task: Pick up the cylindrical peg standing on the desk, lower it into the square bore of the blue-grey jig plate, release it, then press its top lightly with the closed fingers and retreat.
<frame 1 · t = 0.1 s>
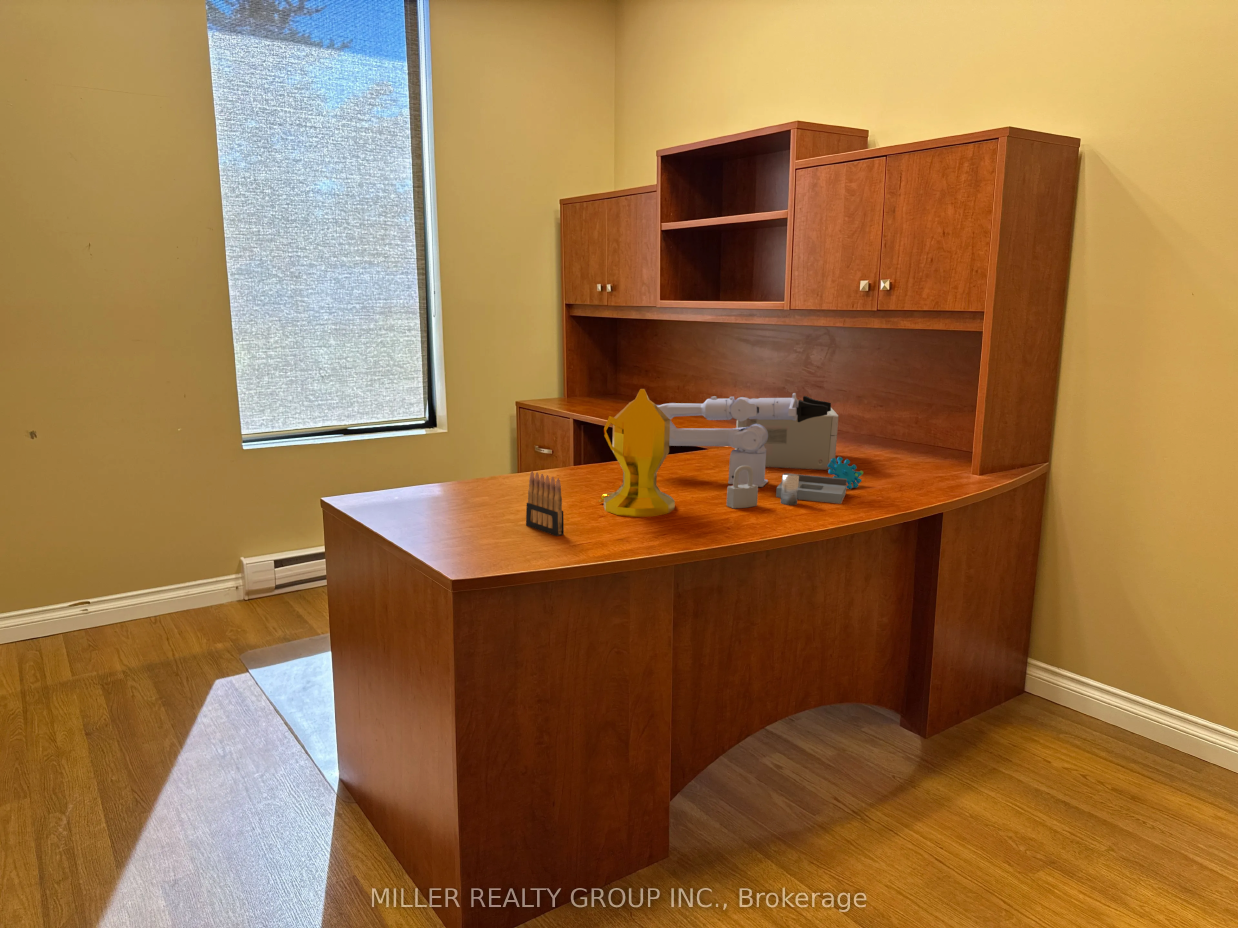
hand: (829, 408, 219), 22 cm above the table, tool horizontal, fingers open, 7 cm apart
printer: (781, 460, 265), on the table
ammunition clip: (544, 530, 180), on the table
jig: (811, 495, 218), on the table
padlock: (741, 507, 205), on the table
gear: (844, 487, 229), on the table
cylindrical peg: (788, 503, 209), on the table
trophy cup: (635, 507, 201), on the table
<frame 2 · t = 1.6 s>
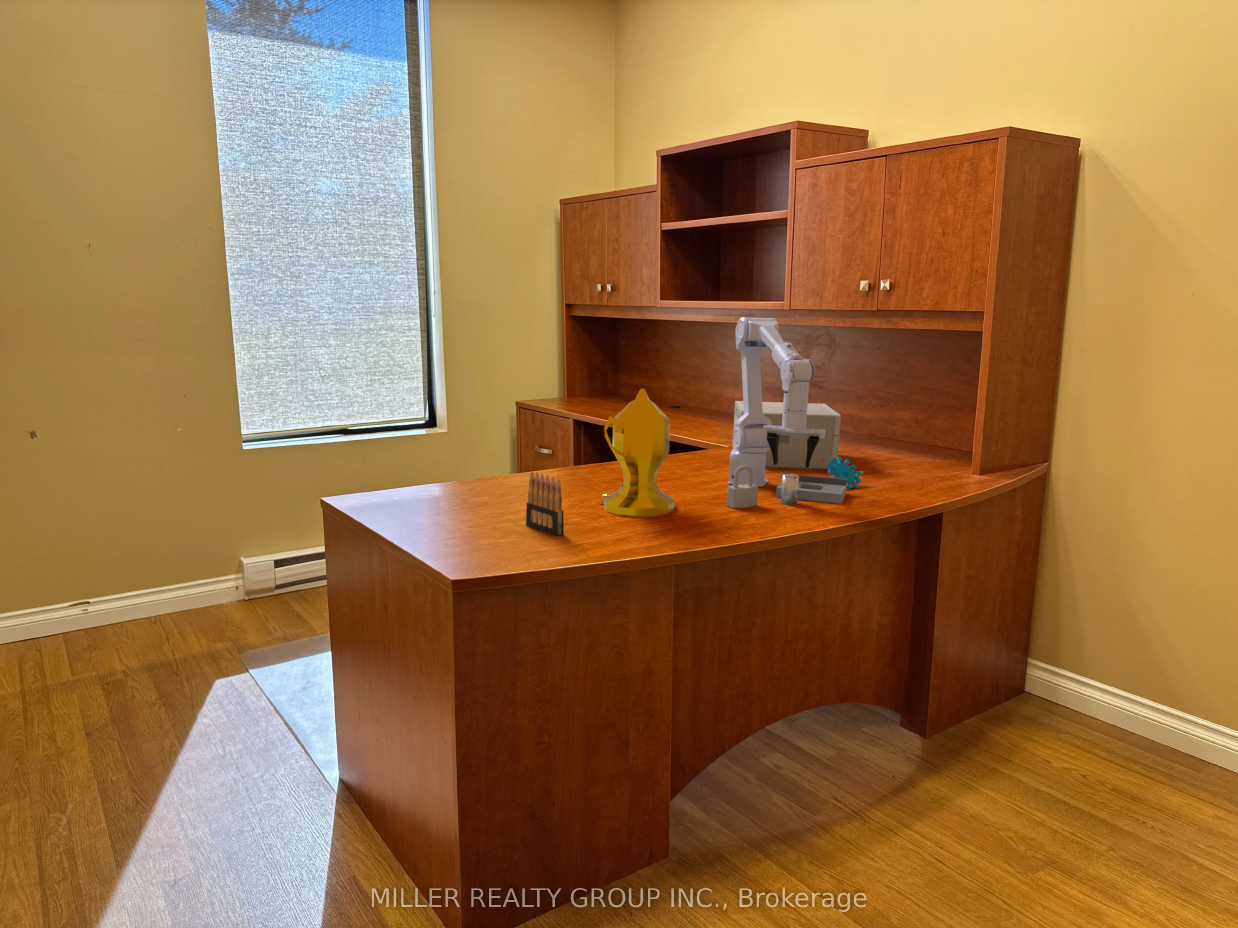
hand: (791, 465, 207), 9 cm above the table, tool pointing down, fingers open, 7 cm apart
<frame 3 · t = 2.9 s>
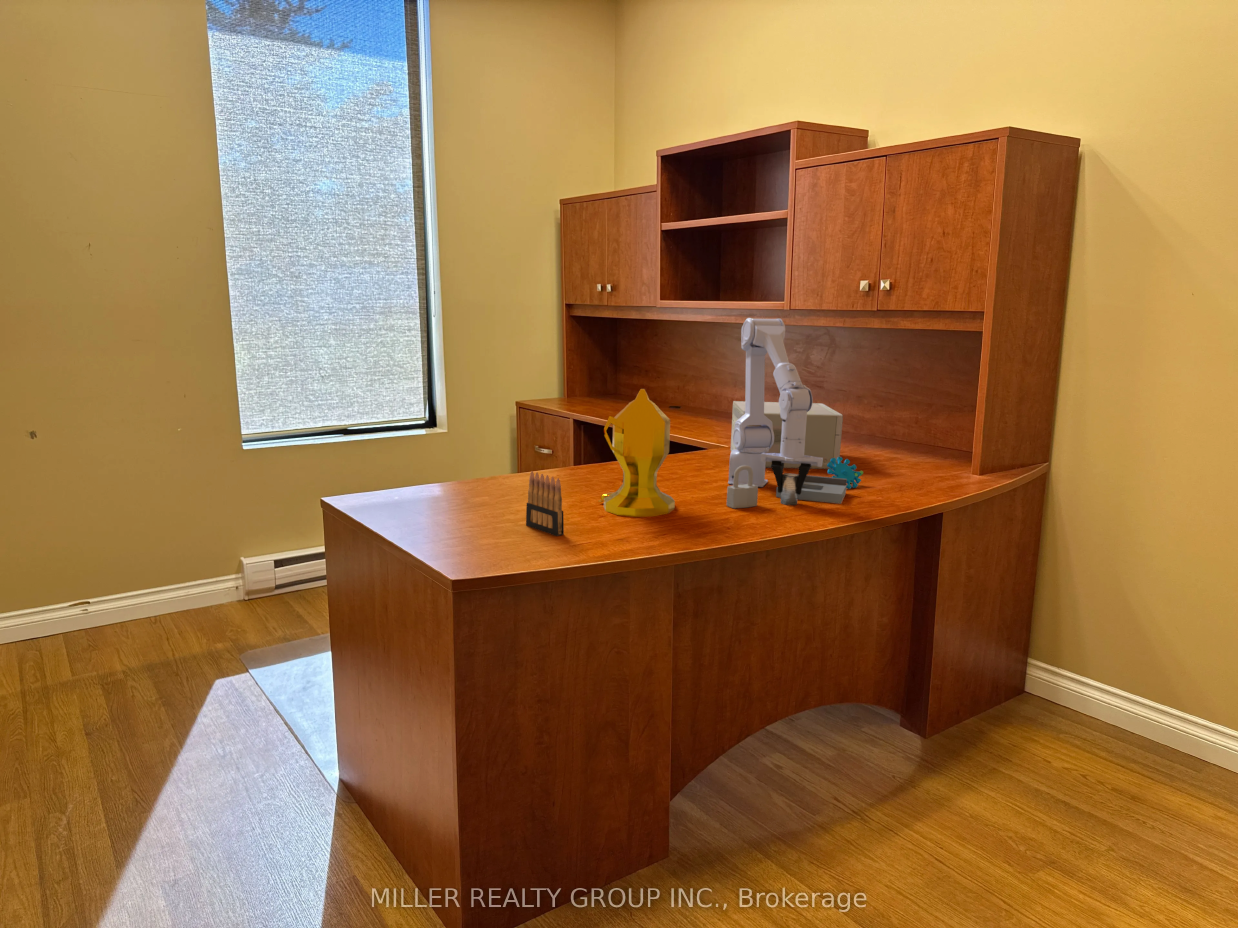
hand: (789, 492, 208), 3 cm above the table, tool pointing down, fingers closed on cylindrical peg, 4 cm apart
cylindrical peg: (788, 503, 209), on the table, touching gripper
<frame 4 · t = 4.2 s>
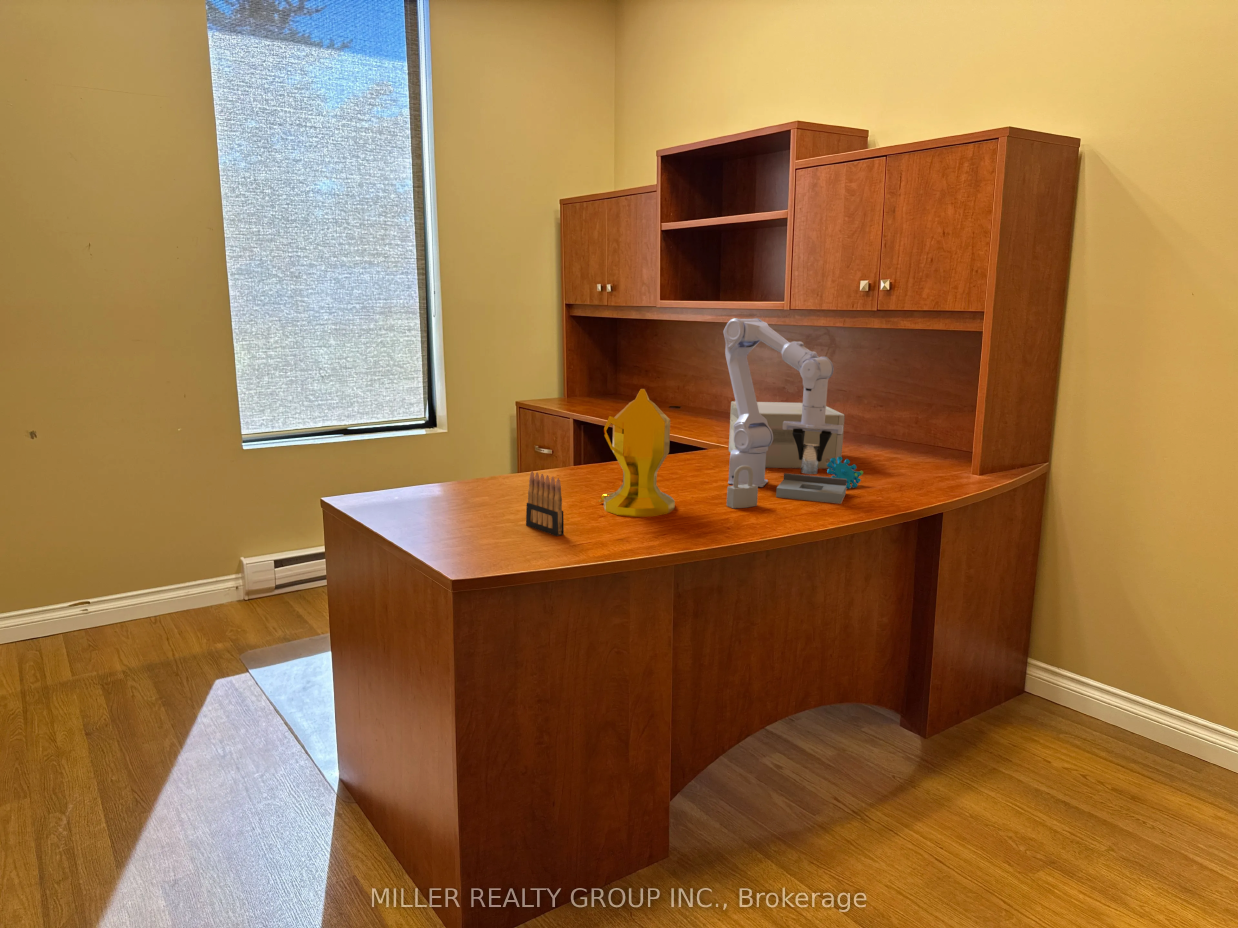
hand: (810, 460, 214), 10 cm above the table, tool pointing down, fingers closed on cylindrical peg, 4 cm apart
cylindrical peg: (809, 472, 214), point 6 cm above the table, touching gripper
when the fingers open (4 cm above the table, at t = 5.6 s): cylindrical peg stays where it is, resting in jig.
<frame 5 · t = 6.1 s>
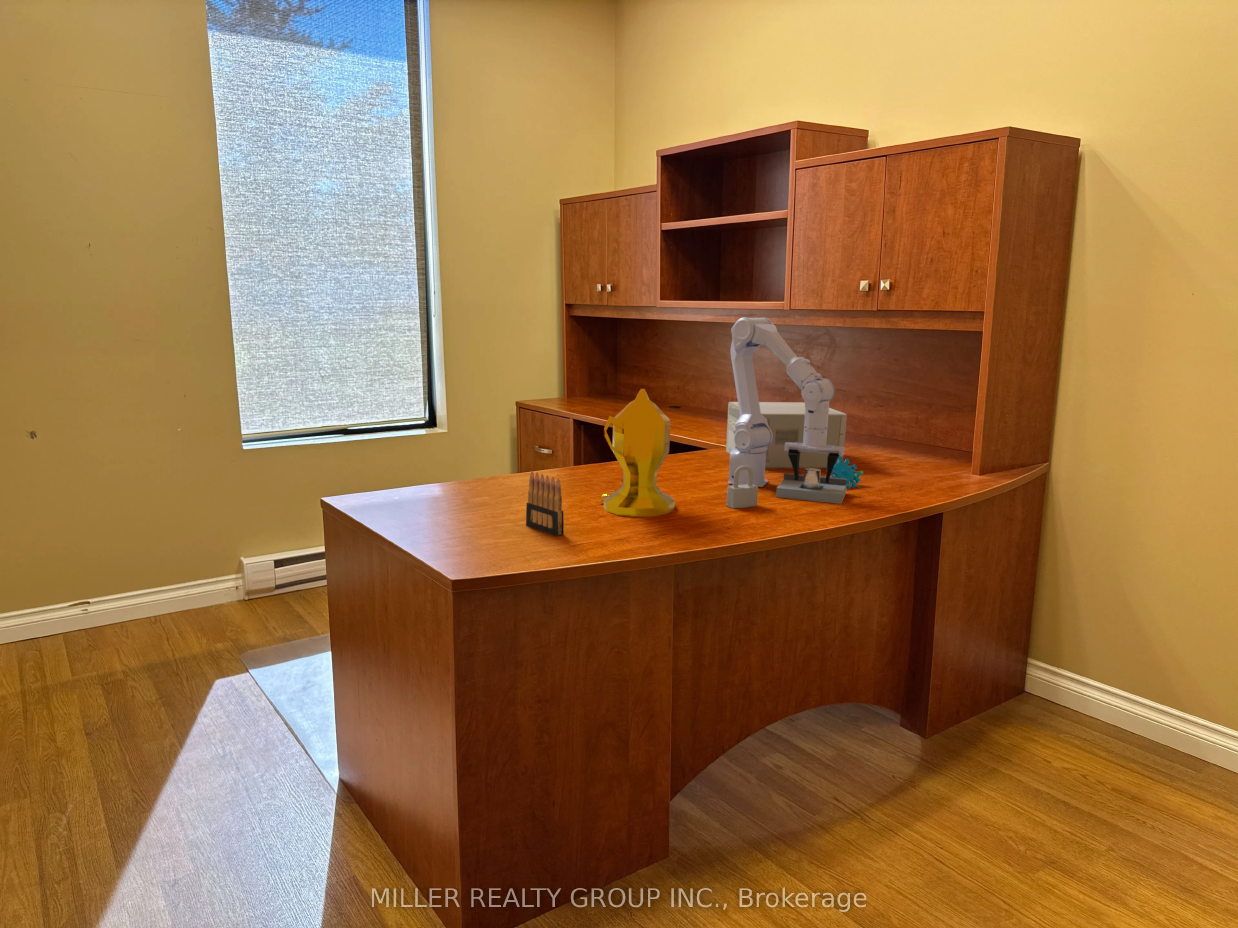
hand: (811, 480, 216), 4 cm above the table, tool pointing down, fingers open, 7 cm apart
cylindrical peg: (810, 496, 216), resting in jig
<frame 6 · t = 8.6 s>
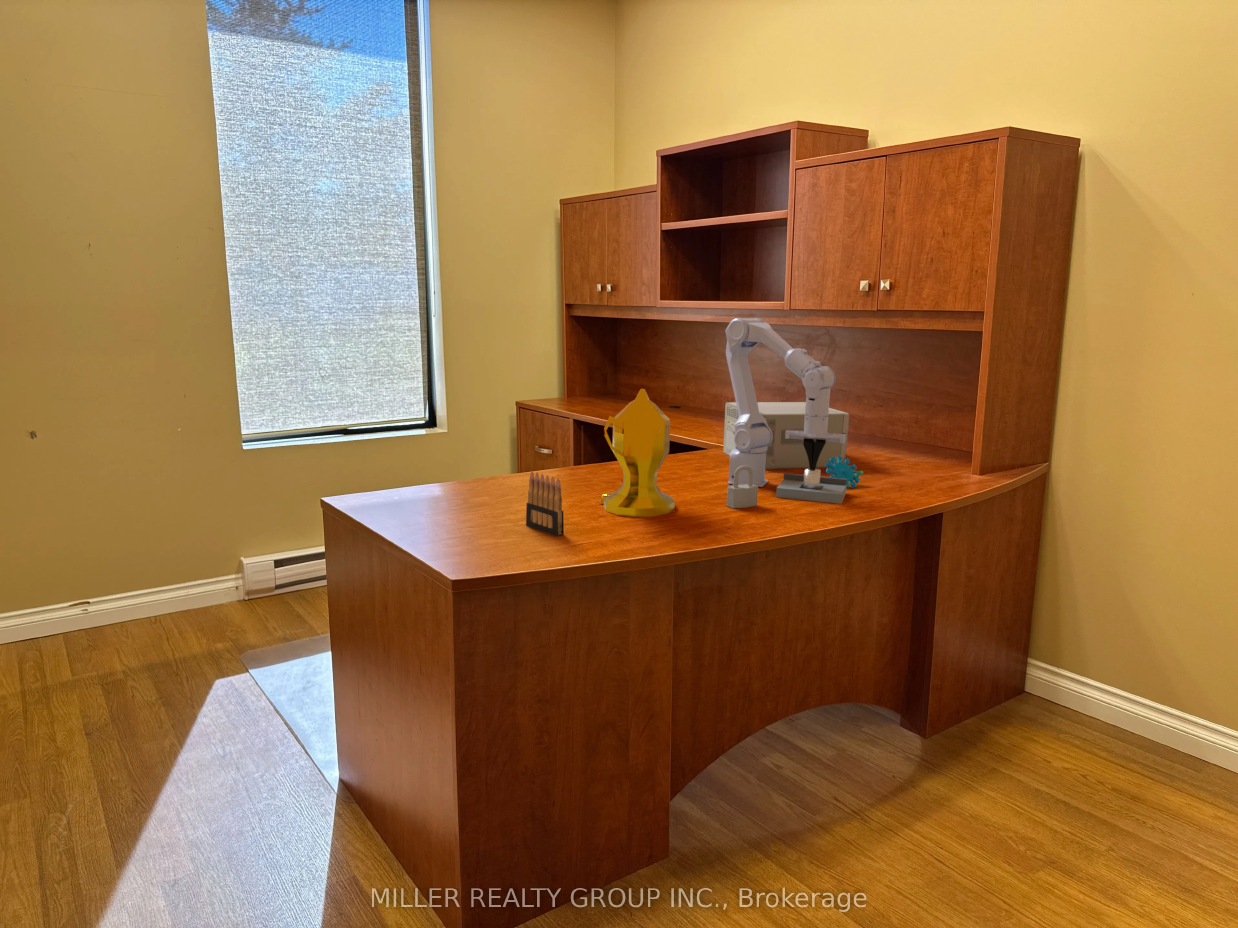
hand: (812, 468, 215), 7 cm above the table, tool pointing down, fingers closed
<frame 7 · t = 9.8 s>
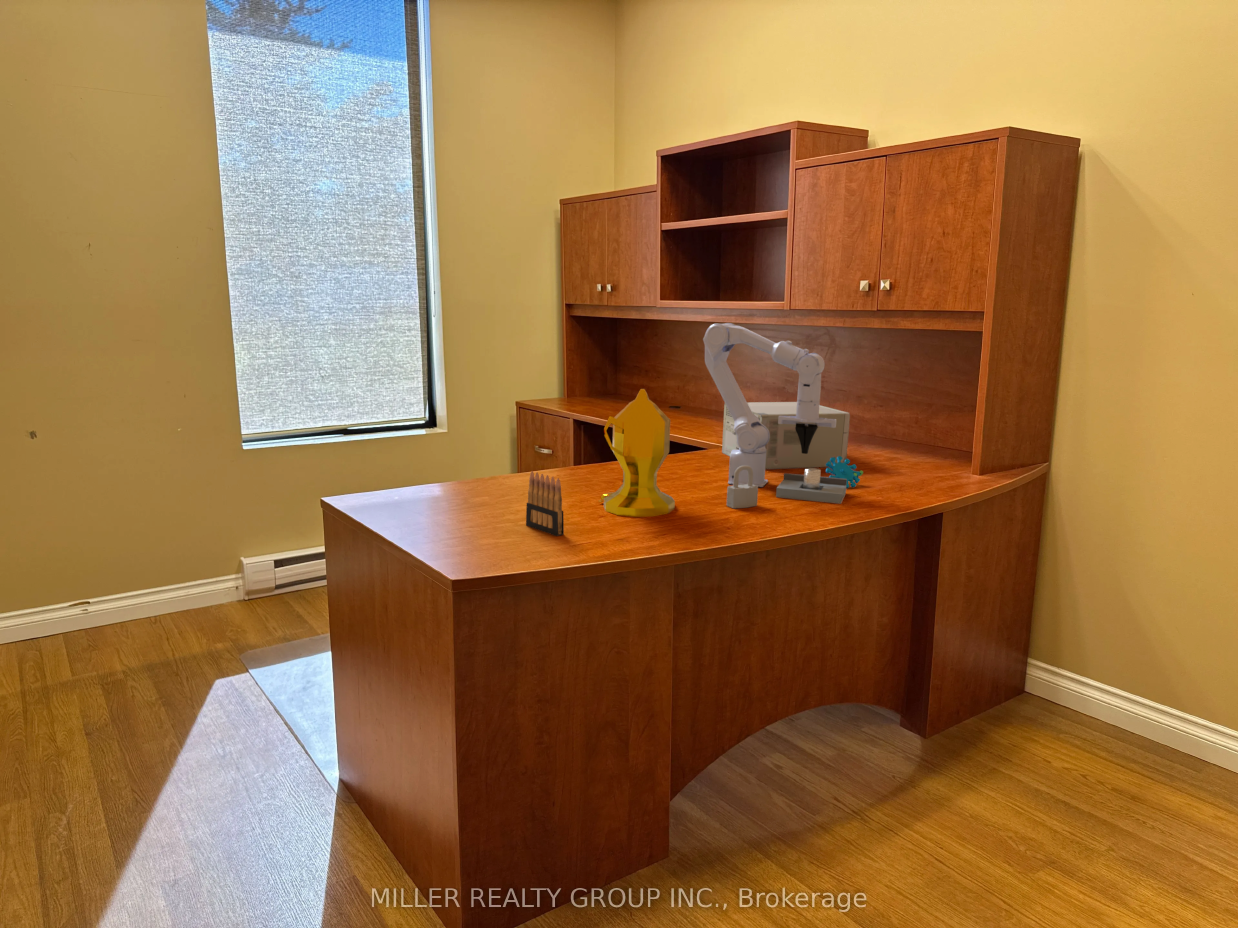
hand: (804, 453, 221), 10 cm above the table, tool pointing down, fingers closed
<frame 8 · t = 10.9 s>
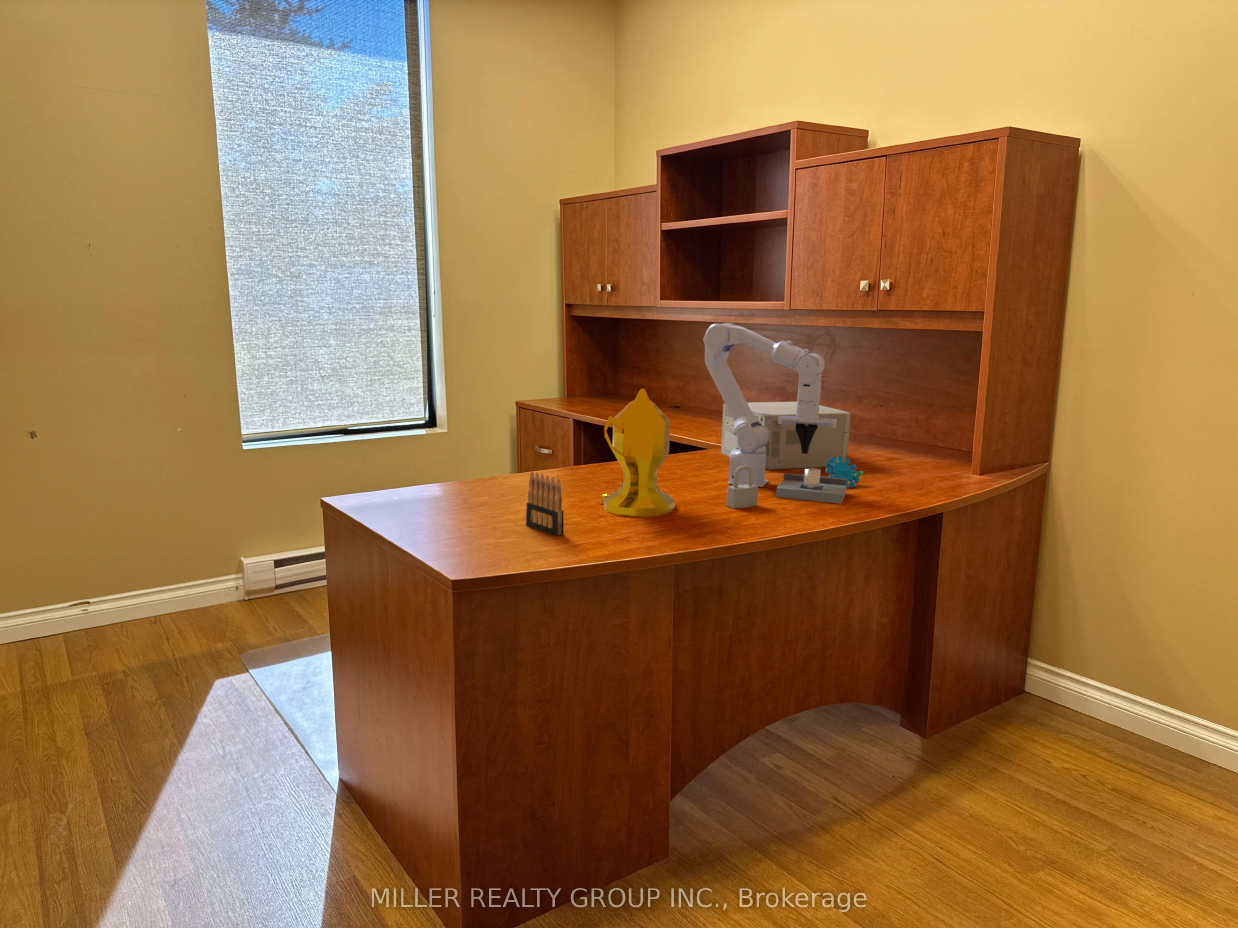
hand: (804, 453, 221), 10 cm above the table, tool pointing down, fingers closed
at the end: cylindrical peg 0.4 cm from the target spot on the jig, point 0.0 cm above the jig's base; cylindrical peg tilted 0°; the gripper is holding nothing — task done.
